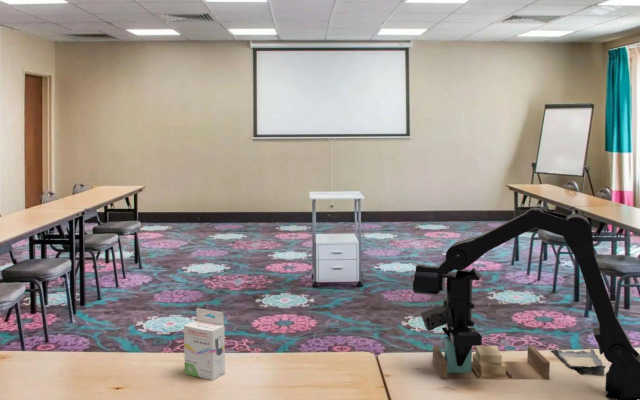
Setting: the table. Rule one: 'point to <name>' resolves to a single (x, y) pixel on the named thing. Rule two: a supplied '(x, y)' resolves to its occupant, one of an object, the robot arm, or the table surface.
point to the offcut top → (488, 355)
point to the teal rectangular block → (451, 359)
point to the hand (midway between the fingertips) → (457, 363)
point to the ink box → (205, 345)
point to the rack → (531, 369)
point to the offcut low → (489, 369)
